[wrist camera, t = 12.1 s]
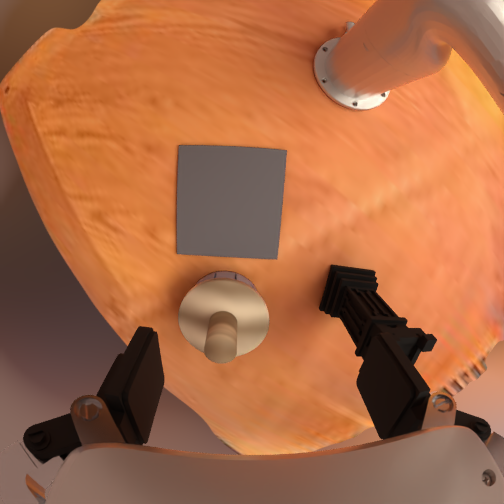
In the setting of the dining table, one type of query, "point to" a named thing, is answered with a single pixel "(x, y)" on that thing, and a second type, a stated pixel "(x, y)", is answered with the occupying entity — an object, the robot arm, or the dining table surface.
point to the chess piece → (369, 312)
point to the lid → (223, 318)
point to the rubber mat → (229, 201)
